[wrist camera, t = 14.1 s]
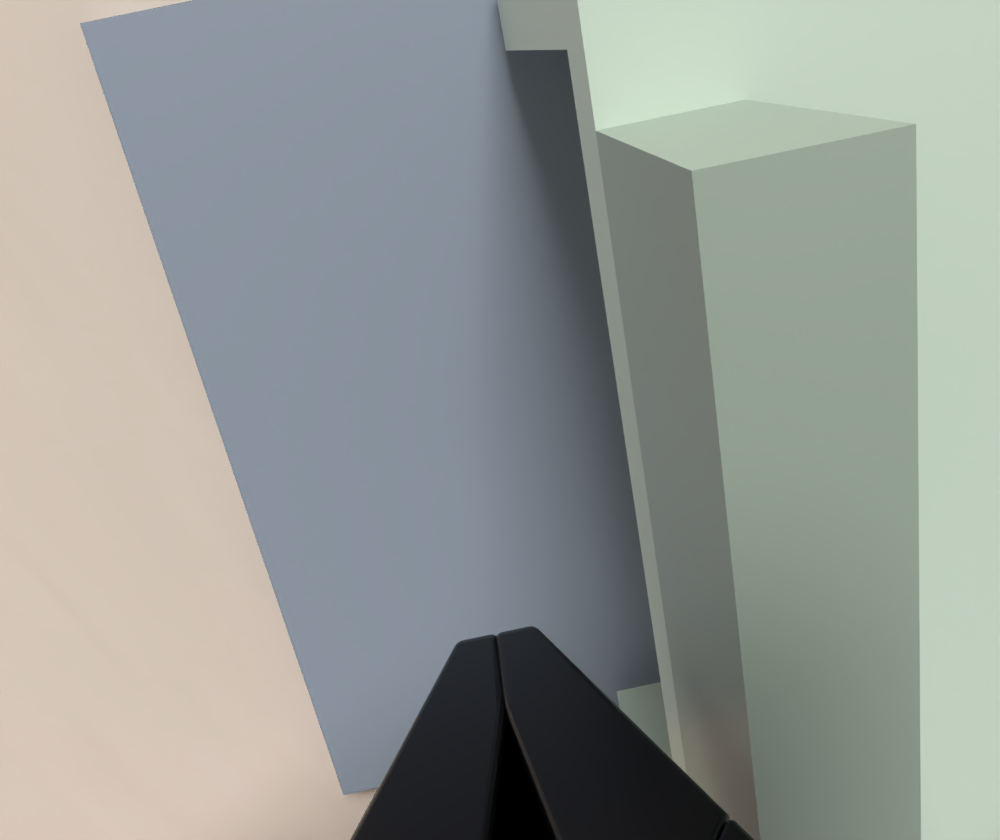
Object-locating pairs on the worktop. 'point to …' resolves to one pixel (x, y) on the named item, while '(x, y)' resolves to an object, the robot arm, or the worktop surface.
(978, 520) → the hood
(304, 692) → the worktop surface
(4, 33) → the worktop surface
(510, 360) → the grey base plate
